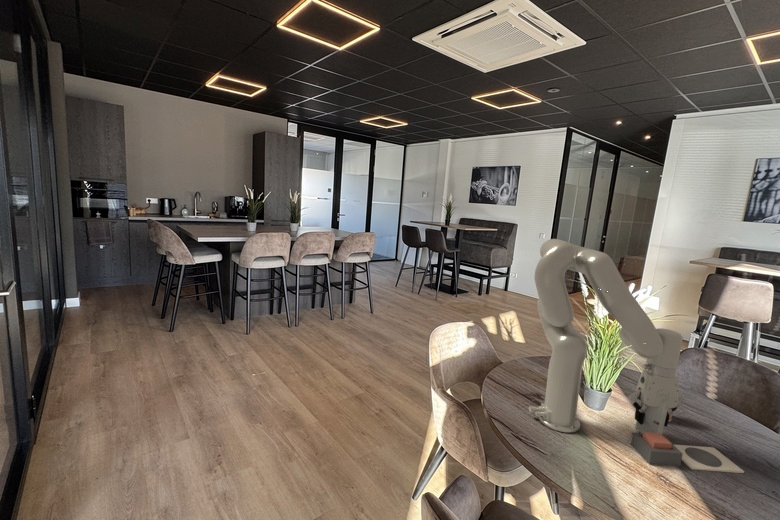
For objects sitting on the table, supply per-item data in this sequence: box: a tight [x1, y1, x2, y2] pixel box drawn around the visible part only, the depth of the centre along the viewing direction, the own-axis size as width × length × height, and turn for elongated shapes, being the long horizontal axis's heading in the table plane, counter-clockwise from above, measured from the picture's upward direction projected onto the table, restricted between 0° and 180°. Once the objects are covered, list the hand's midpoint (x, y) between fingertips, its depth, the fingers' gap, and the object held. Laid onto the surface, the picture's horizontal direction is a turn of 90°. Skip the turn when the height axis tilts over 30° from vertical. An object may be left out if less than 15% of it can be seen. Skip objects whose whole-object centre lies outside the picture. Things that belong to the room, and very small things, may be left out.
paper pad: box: [673, 444, 745, 474], centre depth 103 cm, size 14×10×1 cm
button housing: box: [630, 432, 683, 467], centre depth 103 cm, size 8×8×4 cm
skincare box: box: [635, 403, 668, 435], centre depth 113 cm, size 6×4×12 cm
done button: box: [642, 432, 673, 449], centre depth 103 cm, size 5×5×3 cm
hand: (650, 422), depth 113 cm, fingers closed on skincare box, 6 cm apart
